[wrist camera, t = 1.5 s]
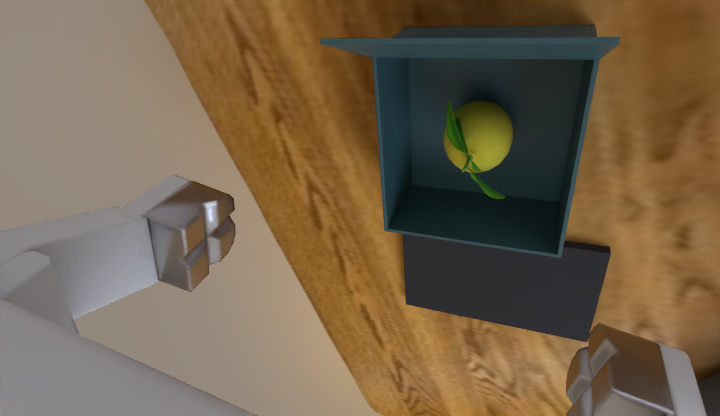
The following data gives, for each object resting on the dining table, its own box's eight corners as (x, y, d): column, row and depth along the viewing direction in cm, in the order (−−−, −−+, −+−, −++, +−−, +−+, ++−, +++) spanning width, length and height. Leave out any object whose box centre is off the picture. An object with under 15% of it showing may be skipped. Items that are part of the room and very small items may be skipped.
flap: (369, 57, 32) (369, 52, 32) (599, 59, 27) (600, 54, 26) (320, 44, 25) (320, 38, 25) (619, 44, 20) (620, 36, 20)
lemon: (514, 159, 41) (500, 219, 33) (449, 149, 43) (423, 204, 35) (528, 86, 37) (517, 135, 29) (457, 79, 39) (429, 123, 31)
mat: (610, 247, 42) (610, 253, 42) (586, 335, 49) (586, 342, 48) (404, 218, 49) (402, 223, 49) (408, 298, 56) (405, 304, 55)
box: (405, 27, 38) (371, 53, 32) (595, 25, 33) (600, 54, 27) (410, 185, 47) (384, 231, 40) (562, 203, 42) (560, 258, 35)
